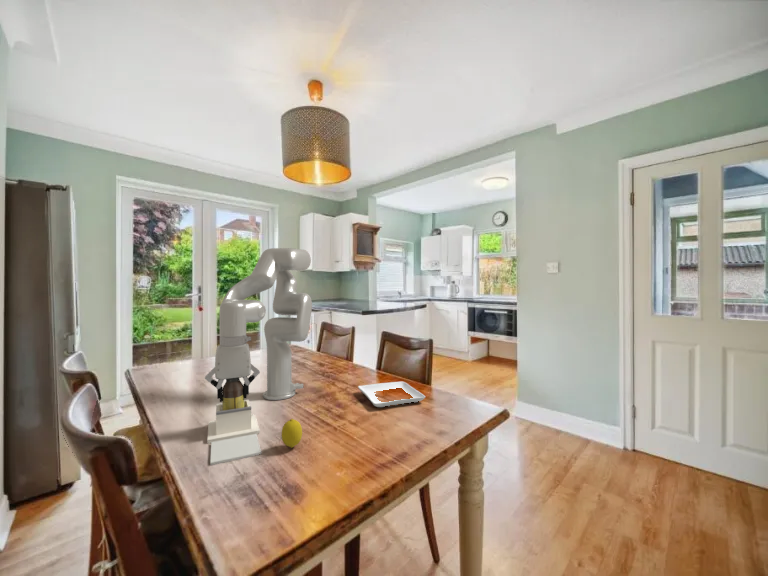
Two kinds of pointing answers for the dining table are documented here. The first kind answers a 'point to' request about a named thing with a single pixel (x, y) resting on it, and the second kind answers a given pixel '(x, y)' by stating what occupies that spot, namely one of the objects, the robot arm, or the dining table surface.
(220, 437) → the caddy
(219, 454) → the mat
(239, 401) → the sauce bottle
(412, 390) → the salad plate
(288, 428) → the lemon
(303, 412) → the dining table surface
